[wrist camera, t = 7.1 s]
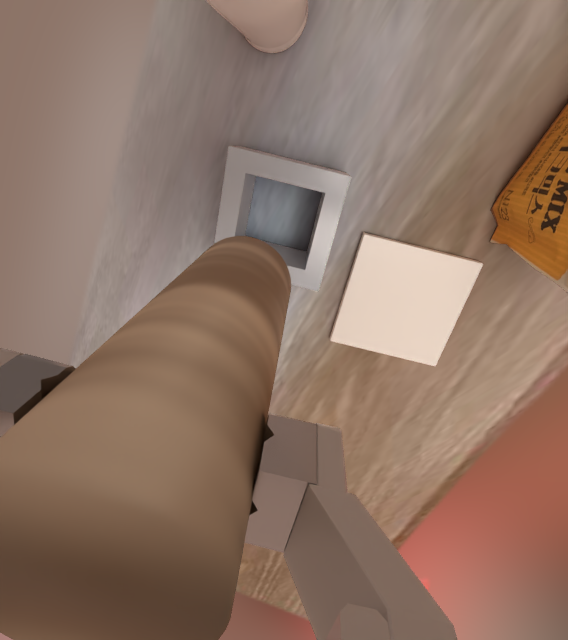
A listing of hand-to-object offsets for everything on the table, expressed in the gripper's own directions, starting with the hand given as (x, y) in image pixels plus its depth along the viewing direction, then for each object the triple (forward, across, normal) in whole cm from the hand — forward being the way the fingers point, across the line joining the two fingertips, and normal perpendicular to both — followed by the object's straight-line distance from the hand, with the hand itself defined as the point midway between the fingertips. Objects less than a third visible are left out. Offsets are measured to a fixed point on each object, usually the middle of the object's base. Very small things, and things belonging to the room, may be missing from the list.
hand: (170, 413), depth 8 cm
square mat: (+29, -13, +6) cm, 32 cm away
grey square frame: (+29, 0, 0) cm, 29 cm away
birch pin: (+9, 0, 0) cm, 9 cm away
